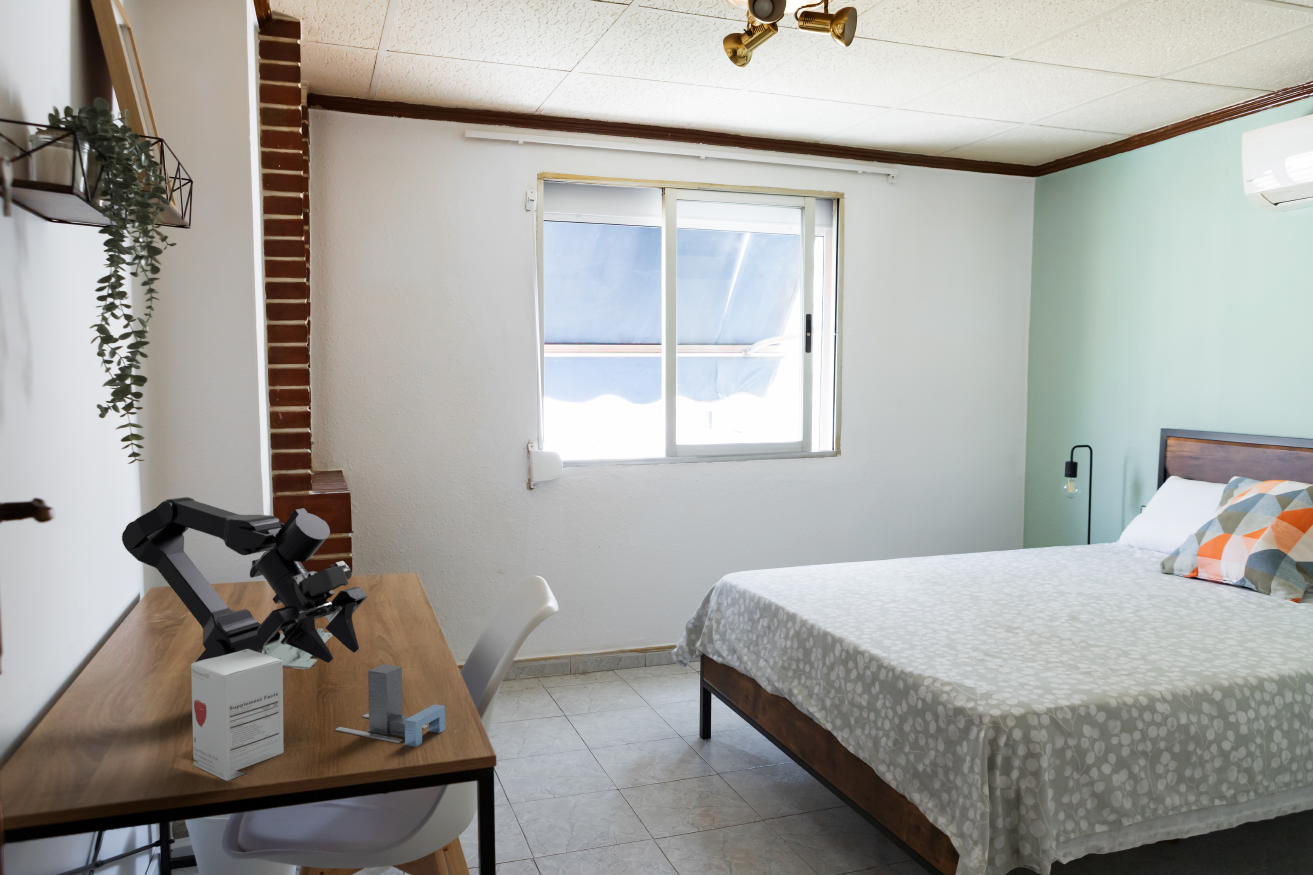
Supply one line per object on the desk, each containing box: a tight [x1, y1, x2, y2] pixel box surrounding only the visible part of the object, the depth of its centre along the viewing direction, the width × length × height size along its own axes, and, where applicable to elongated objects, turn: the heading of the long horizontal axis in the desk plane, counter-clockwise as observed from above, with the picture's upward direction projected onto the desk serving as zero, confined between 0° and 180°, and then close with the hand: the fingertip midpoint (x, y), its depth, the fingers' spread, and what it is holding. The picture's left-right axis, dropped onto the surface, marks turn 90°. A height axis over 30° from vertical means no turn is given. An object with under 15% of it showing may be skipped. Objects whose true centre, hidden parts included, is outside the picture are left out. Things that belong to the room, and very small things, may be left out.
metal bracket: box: [262, 627, 333, 670], centre depth 176 cm, size 14×6×15 cm
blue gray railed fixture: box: [335, 703, 446, 748], centre depth 136 cm, size 16×8×5 cm, turn 67°
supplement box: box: [190, 649, 284, 782], centre depth 126 cm, size 9×9×15 cm
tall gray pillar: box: [367, 663, 410, 738], centre depth 135 cm, size 8×4×10 cm, turn 67°
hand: (344, 655), depth 139 cm, fingers open, 5 cm apart
